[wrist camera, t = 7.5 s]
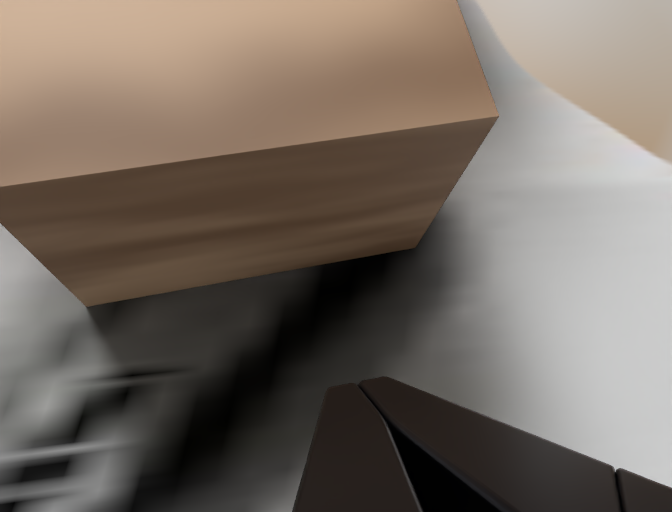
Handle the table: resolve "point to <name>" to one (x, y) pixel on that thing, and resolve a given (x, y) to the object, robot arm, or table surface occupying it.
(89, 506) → the table surface
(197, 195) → the walnut block
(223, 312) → the table surface
